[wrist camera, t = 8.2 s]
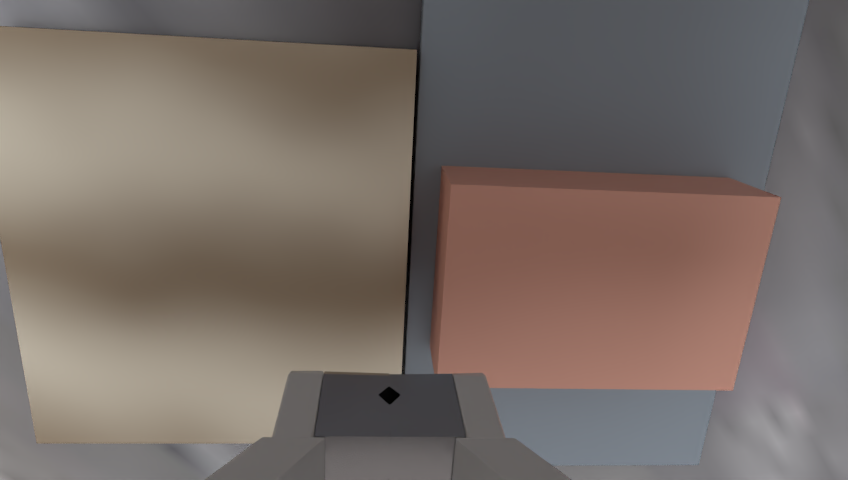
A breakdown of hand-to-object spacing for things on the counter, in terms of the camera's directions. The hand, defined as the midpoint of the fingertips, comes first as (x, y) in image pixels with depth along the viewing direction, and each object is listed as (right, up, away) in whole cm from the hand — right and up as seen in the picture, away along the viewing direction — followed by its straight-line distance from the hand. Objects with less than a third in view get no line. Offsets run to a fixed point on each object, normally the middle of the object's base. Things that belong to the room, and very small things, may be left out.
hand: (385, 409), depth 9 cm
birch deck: (-6, +3, +9) cm, 11 cm away
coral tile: (+5, +2, +10) cm, 11 cm away
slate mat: (+6, +2, +10) cm, 12 cm away
